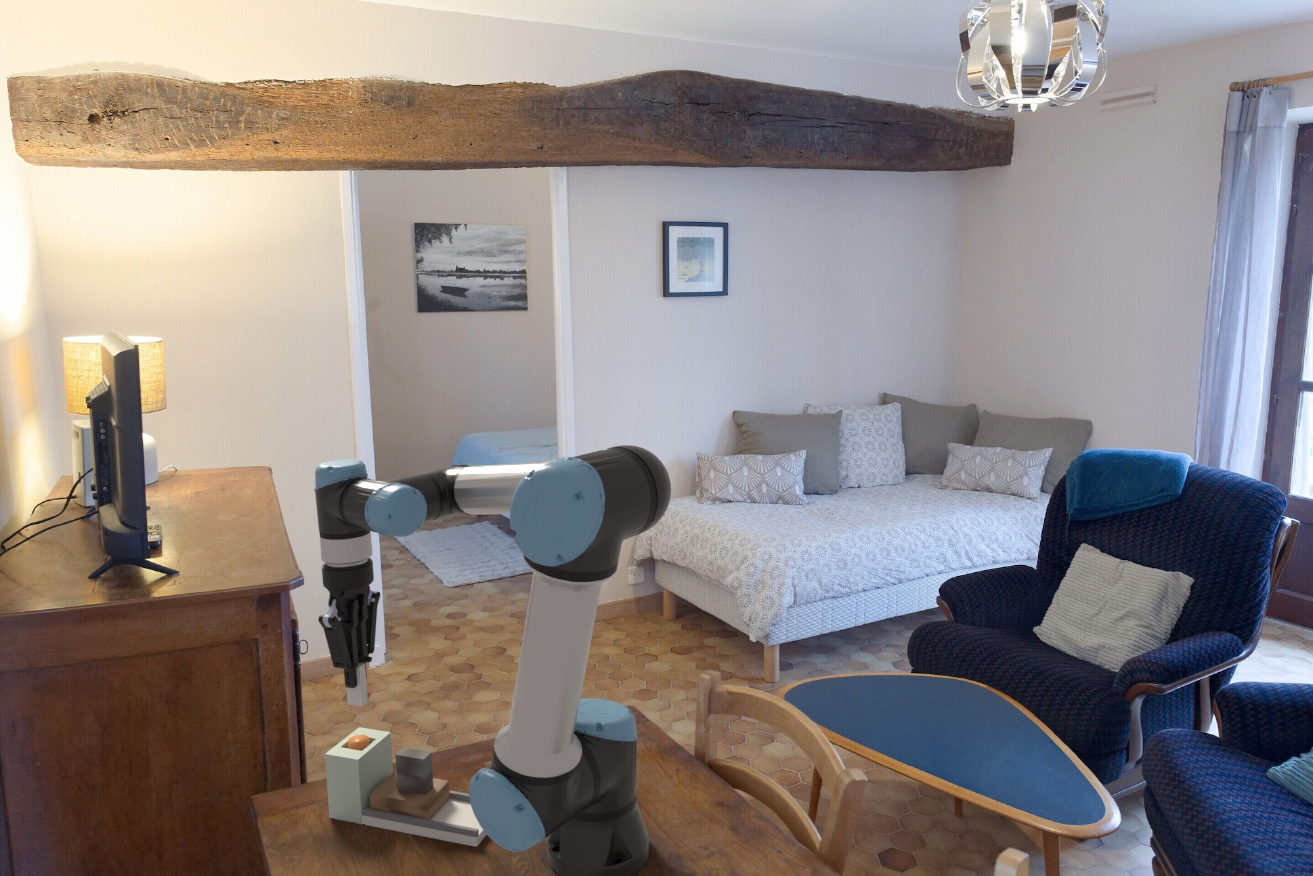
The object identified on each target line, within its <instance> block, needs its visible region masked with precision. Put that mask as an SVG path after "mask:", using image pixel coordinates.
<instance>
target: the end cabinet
mask: <svg viewBox="0 0 1313 876" xmlns="http://www.w3.org/2000/svg"><path fill="white" fill-rule="evenodd" d="M356 735H366V736H368V737H369V745H368V746H367V747H366V748H365V749H364V750H362V751H360V750H354V749H348V739H349V738H351V737H353V736H356ZM392 750H393V749H392V734H391V732H390V731H386V730H385V731H384V730H378V729H372V728H367V727H361V726H359V727H358V728H356V729H355V730H353V732H351V733H350V734H348V735H347V736H346V737H345V738H343V739H342V740H341V741H339V742H338V743H337V744H336V745H335V746H333V747H332V748H330V749H329V750H328V751H327V752H326V753H324V759H325V760H324V761H325V772H326V789H327V800H328V802H327V803H328V814H329V815H328V816H329V819H334V820H338V821H339V820H340V821H342V822H343V821H344V822H349V823H353V822H354V823H355V824H359V825H363V824H362V809H363V808H364V807H365V808H370V793H371V792H372V791H373V790H375V789H376V788H377V787H378V786H379V785H380V784H381V783H382V782H383V781H384V780H385V779H387V778H388V777H389V776H390V775H391V774H392V773H393V772H394V770H393V769H394V767H393V751H392Z"/></svg>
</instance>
